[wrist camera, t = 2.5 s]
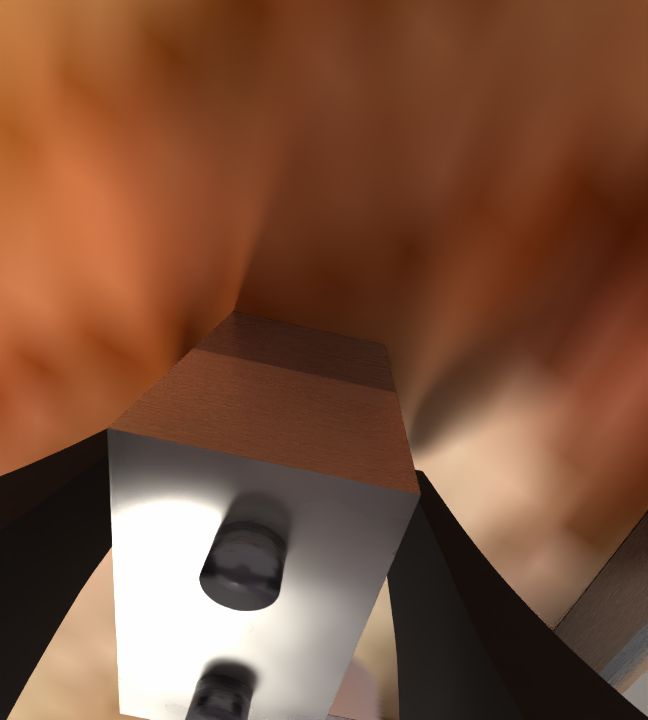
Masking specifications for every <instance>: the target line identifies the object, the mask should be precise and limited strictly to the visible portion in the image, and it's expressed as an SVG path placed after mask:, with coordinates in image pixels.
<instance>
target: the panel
mask: <svg viewBox="0 0 648 720" xmlns="http://www.w3.org/2000/svg"><path fill="white" fill-rule="evenodd" d="M554 633H555V634H556V635H557V636H558V637H559V638H560V639H561V640H562V641H563V642H564V643H565V644H566V645H567V646H568V647H569V648H570V649H571V650H573V651H574V652H575V653H576V654H577V655H578V656H579V657H580V658H581V659H582V660H583V661H584V662H585V663H587V664H588V665H589V666H590V667H591V668H592V669H593V670H594V671H595V672H596V673H597V674H599V675H600V676H601V677H602V678H603V679H604V680H605V681H607V682H608V683H609V684H610V685H611V686H612V687H613V688H615V689H616V690H617V691H618V692H619V693H620V694H621V695H623V696H624V697H625V698H626V699H627V700H628V701H629V702H631V703H632V704H633V705H634V706H635V707H636V708H638V709H639V710H640V711H641V712H642V713H644V714H645V715H646V716H647V717H648V513H647V514H646V515H645V516H644V518H643V519H642V520H641V521H640V523H639V524H638V525H637V527H636V528H635V529H634V530H633V532H632V533H631V534H630V535H629V537H628V538H627V539H626V541H625V542H624V543H623V544H622V546H621V547H620V548H619V549H618V551H617V552H616V553H615V555H614V556H613V557H612V558H611V560H610V561H609V562H608V563H607V565H606V566H605V567H604V569H603V570H602V571H601V572H600V574H599V575H598V576H597V577H596V579H595V580H594V581H593V583H592V584H591V585H590V586H589V588H588V589H587V590H586V591H585V593H584V594H583V595H582V597H581V598H580V599H579V600H578V602H577V603H576V604H575V605H574V607H573V608H572V609H571V611H570V612H569V613H568V614H567V616H566V617H565V618H564V619H563V621H562V622H561V623H560V625H559V626H558V627H557V628H556V630H555V631H554Z"/></svg>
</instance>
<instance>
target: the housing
mask: <svg viewBox="0 0 648 720" xmlns="http://www.w3.org/2000/svg"><path fill="white" fill-rule="evenodd" d="M107 434H108V456H109V478H110V501H111V523H112V545H113V568H114V590H115V612H116V635H117V657H118V679H119V702H120V713H121V714H126V715H131V716H136V717H142V718H147V719H152V720H326V717H327V715H328V713H329V710H330V708H331V705H332V703H333V700H334V698H335V696H336V694H337V691H338V689H339V687H340V684H341V682H342V680H343V677H344V675H345V672H346V670H347V667H348V665H349V663H350V660H351V658H352V656H353V654H354V651H355V649H356V647H357V644H358V642H359V639H360V637H361V635H362V632H363V630H364V628H365V625H366V623H367V621H368V618H369V616H370V614H371V611H372V609H373V606H374V604H375V602H376V599H377V597H378V595H379V592H380V590H381V588H382V585H383V583H384V581H385V578H386V576H387V573H388V571H389V569H390V566H391V564H392V562H393V559H394V557H395V555H396V552H397V550H398V547H399V545H400V543H401V540H402V538H403V536H404V533H405V531H406V529H407V526H408V524H409V522H410V519H411V517H412V514H413V512H414V510H415V507H416V505H417V503H418V500H419V498H420V496H421V493H420V489H419V485H418V481H417V477H416V472H415V468H414V464H413V460H412V456H411V452H410V448H409V444H408V439H407V435H406V431H405V427H404V423H403V419H402V415H401V411H400V407H399V402H398V398H397V394H396V390H395V386H394V382H393V378H392V374H391V370H390V365H389V361H388V357H387V353H386V349H385V345H383V344H378V343H374V342H369V341H365V340H360V339H356V338H351V337H347V336H342V335H338V334H333V333H329V332H324V331H320V330H315V329H311V328H306V327H302V326H297V325H293V324H288V323H284V322H279V321H275V320H270V319H266V318H261V317H257V316H252V315H248V314H243V313H239V312H234V311H233V312H232V313H231V314H230V315H229V316H228V317H227V318H226V319H224V320H223V321H222V322H221V323H220V324H219V325H218V326H217V327H216V328H215V329H214V330H213V331H211V332H210V333H209V334H208V335H207V336H206V337H205V338H204V339H203V340H202V341H201V342H200V343H198V344H197V345H196V346H195V347H194V348H193V349H192V350H191V351H190V352H189V353H188V354H187V355H186V356H184V357H183V358H182V359H181V360H180V361H179V362H178V363H177V364H176V365H175V366H174V367H173V368H171V369H170V370H169V371H168V372H167V373H166V374H165V375H164V376H163V377H162V378H161V379H160V380H158V381H157V382H156V383H155V384H154V385H153V386H152V387H151V388H150V389H149V390H148V391H147V392H145V393H144V394H143V395H142V396H141V397H140V398H139V399H138V400H137V401H136V402H135V403H134V404H133V405H131V406H130V407H129V408H128V409H127V410H126V411H125V412H124V413H123V414H122V415H121V416H120V417H118V418H117V419H116V420H115V421H114V422H113V423H112V424H111V425H110V426H109V427H108V428H107Z"/></svg>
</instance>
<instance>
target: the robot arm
mask: <svg viewBox="0 0 648 720" xmlns="http://www.w3.org/2000/svg"><path fill="white" fill-rule="evenodd" d="M415 472H416V477H417V481H418V485H419V489H420V493H421V496H420V498H419V500H418V503H417V505H416V507H415V510H414V512H413V514H412V517H411V519H410V522H409V524H408V526H407V529H406V531H405V533H404V536H403V538H402V540H401V543H400V545H399V547H398V550H397V552H396V555H395V557H394V559H393V562H392V564H391V566H390V569H389V571H388V573H387V579H388V586H389V594H390V601H391V609H392V616H393V624H394V631H395V640H396V651H397V666H398V688H399V714H400V720H648V717H647V716H646V715H645V714H644V713H642V712H641V711H640V710H639V709H638V708H636V707H635V706H634V705H633V704H632V703H631V702H629V701H628V700H627V699H626V698H625V697H624V696H623V695H621V694H620V693H619V692H618V691H617V690H616V689H615V688H613V687H612V686H611V685H610V684H609V683H608V682H607V681H605V680H604V679H603V678H602V677H601V676H600V675H599V674H597V673H596V672H595V671H594V670H593V669H592V668H591V667H590V666H589V665H588V664H587V663H585V662H584V661H583V660H582V659H581V658H580V657H579V656H578V655H577V654H576V653H575V652H574V651H573V650H571V649H570V648H569V647H568V646H567V645H566V644H565V643H564V642H563V641H562V640H561V639H560V638H559V637H558V636H557V635H556V634H555V633H554V632H553V631H552V630H551V629H550V628H549V627H548V626H547V625H546V624H545V623H544V622H543V621H542V620H541V619H540V618H539V617H538V616H537V615H536V614H535V613H534V612H533V611H532V610H531V609H530V608H529V607H528V606H527V605H526V603H525V602H524V601H523V600H522V599H521V598H520V597H519V596H518V595H517V594H516V592H515V591H514V590H513V589H512V588H511V587H510V586H509V585H508V584H507V583H506V581H505V580H504V579H503V578H502V577H501V576H500V575H499V573H498V572H497V571H496V570H495V569H494V567H493V566H492V565H491V564H490V563H489V561H488V560H487V559H486V558H485V556H484V555H483V554H482V553H481V551H480V550H479V549H478V548H477V546H476V545H475V544H474V542H473V541H472V540H471V539H470V537H469V536H468V535H467V533H466V532H465V531H464V529H463V528H462V527H461V525H460V524H459V522H458V521H457V520H456V518H455V517H454V516H453V514H452V513H451V511H450V510H449V508H448V507H447V506H446V504H445V503H444V501H443V500H442V498H441V497H440V495H439V494H438V493H437V491H436V490H435V488H434V487H433V485H432V484H431V482H430V481H429V479H428V478H427V477H426V475H425V474H424V472H423V471H419V470H415ZM112 546H113V545H112V523H111V501H110V478H109V456H108V434H107V429H105V430H103V431H101V432H99V433H97V434H95V435H93V436H91V437H89V438H87V439H85V440H83V441H81V442H79V443H76V444H74V445H72V446H70V447H68V448H66V449H63V450H61V451H59V452H57V453H54V454H52V455H50V456H48V457H45V458H43V459H41V460H39V461H36V462H34V463H32V464H29V465H27V466H25V467H22V468H20V469H17V470H15V471H12V472H10V473H7V474H5V475H2V476H0V720H6V719H7V718H8V716H9V714H10V712H11V710H12V709H13V707H14V705H15V703H16V701H17V699H18V698H19V696H20V694H21V692H22V690H23V689H24V687H25V685H26V683H27V681H28V679H29V678H30V676H31V674H32V673H33V671H34V669H35V667H36V666H37V664H38V662H39V660H40V659H41V657H42V655H43V653H44V652H45V650H46V648H47V646H48V645H49V643H50V641H51V639H52V638H53V636H54V634H55V633H56V631H57V629H58V628H59V626H60V624H61V623H62V621H63V619H64V618H65V616H66V614H67V613H68V611H69V609H70V608H71V606H72V604H73V603H74V601H75V599H76V598H77V596H78V594H79V593H80V591H81V590H82V588H83V587H84V585H85V584H86V582H87V581H88V579H89V578H90V576H91V575H92V573H93V572H94V570H95V569H96V568H97V566H98V565H99V564H100V562H101V561H102V559H103V558H104V557H105V555H106V554H107V553H108V551H109V550H110V548H111V547H112ZM326 720H354V719H349V718H343V717H338V716H334V715H329V714H328V715H327V717H326Z"/></svg>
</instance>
